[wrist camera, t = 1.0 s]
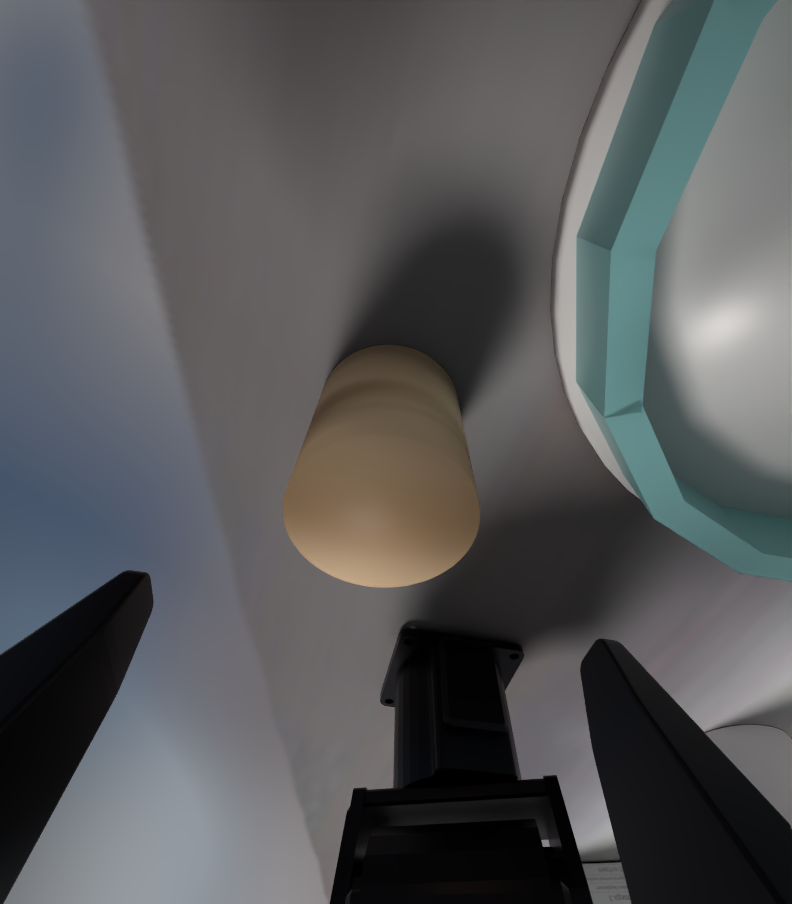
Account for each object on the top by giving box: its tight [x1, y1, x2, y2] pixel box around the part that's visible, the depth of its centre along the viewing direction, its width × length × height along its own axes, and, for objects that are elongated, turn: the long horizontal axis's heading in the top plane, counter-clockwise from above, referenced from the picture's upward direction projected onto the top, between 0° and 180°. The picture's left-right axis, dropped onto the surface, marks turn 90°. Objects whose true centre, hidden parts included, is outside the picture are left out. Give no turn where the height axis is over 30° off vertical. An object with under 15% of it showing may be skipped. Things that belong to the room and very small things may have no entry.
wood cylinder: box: [283, 345, 480, 587], centre depth 14 cm, size 5×5×6 cm
